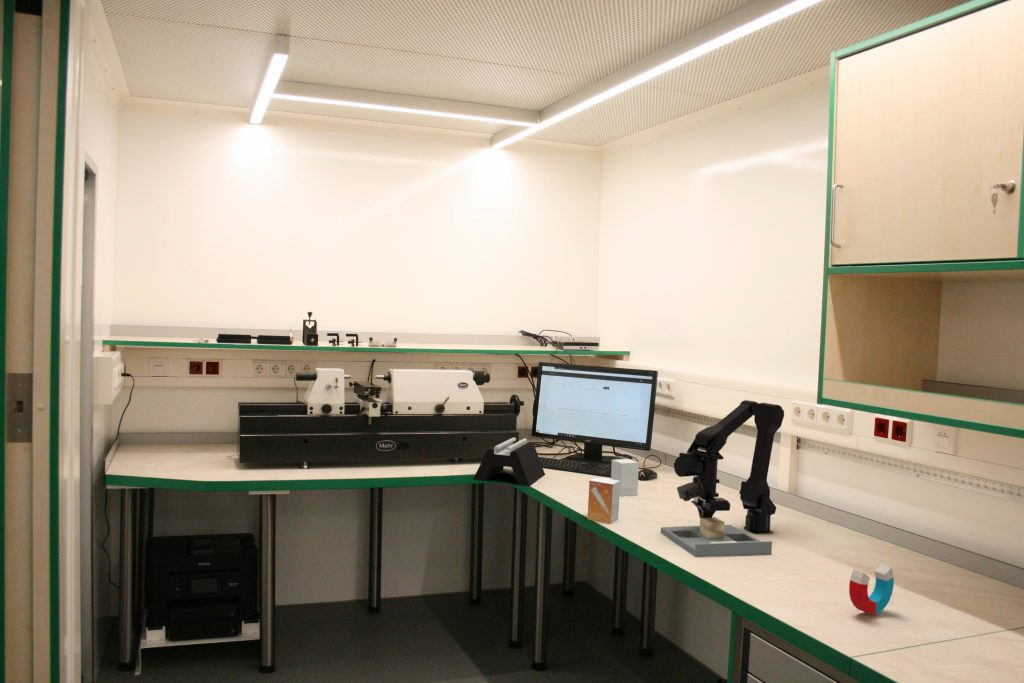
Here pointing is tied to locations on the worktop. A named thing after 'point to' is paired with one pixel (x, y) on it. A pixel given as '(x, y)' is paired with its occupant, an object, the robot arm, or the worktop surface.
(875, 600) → the magnet
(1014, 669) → the worktop surface
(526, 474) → the device stand
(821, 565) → the worktop surface
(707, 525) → the maple block
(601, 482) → the small box
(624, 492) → the supplement box
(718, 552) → the board
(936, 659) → the worktop surface
